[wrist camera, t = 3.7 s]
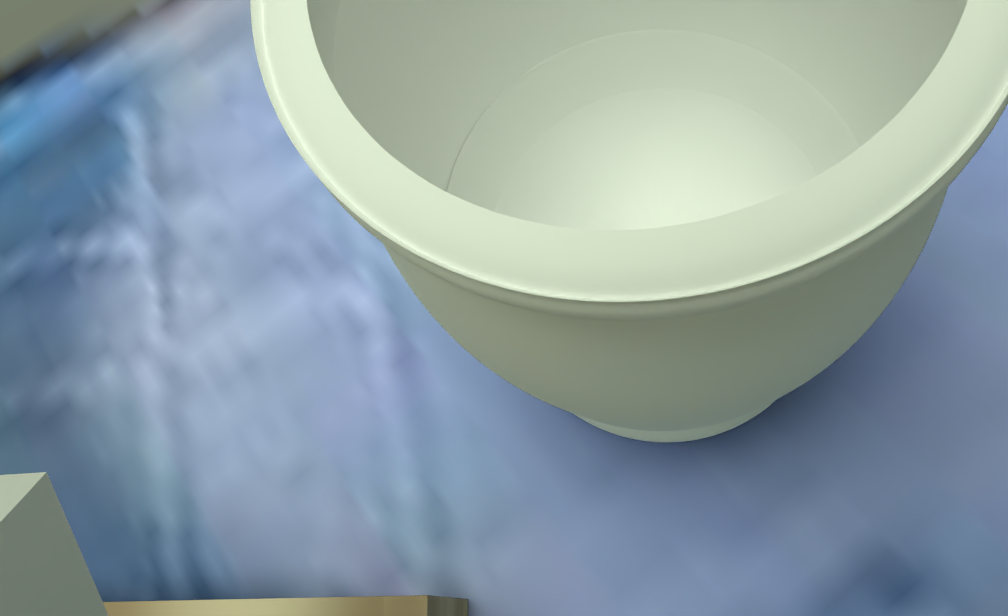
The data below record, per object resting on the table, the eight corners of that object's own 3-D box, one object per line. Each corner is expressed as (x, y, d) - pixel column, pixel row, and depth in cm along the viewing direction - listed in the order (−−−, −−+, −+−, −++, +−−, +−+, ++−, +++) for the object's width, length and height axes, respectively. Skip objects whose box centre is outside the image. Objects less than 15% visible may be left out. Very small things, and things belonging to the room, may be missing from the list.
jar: (404, 306, 28) (105, -16, 14) (645, 64, 29) (596, -468, 15) (677, 570, 24) (650, 499, 10) (944, 282, 25) (1261, -152, 11)
